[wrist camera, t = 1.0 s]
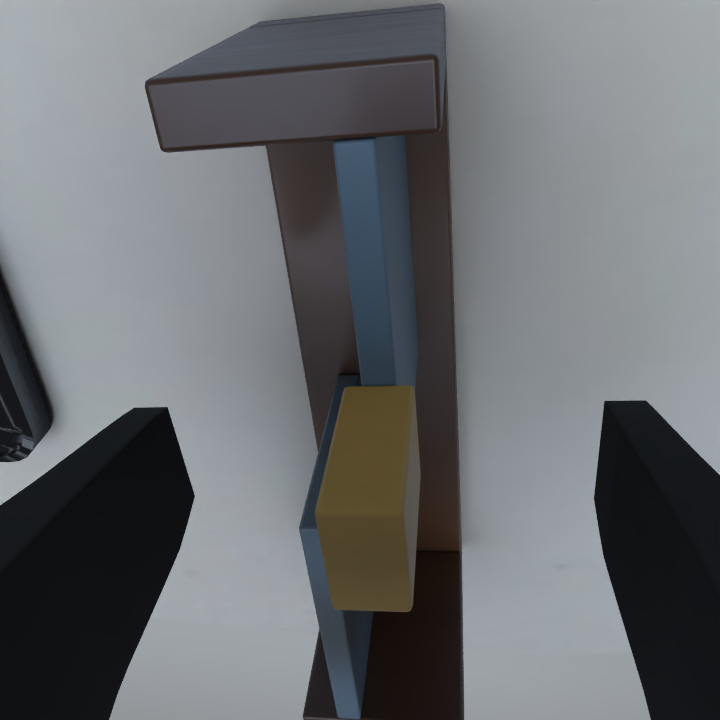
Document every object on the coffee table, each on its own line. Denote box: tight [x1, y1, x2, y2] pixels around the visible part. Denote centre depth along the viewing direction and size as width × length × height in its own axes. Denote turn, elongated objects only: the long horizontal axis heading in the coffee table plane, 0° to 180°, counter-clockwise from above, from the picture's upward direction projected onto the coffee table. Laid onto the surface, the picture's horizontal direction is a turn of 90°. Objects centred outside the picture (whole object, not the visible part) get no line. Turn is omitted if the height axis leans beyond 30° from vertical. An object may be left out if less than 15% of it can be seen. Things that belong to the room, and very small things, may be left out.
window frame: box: [145, 4, 464, 720], centre depth 16 cm, size 16×4×6 cm, turn 6°
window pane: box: [315, 135, 421, 612], centre depth 12 cm, size 7×1×8 cm, turn 6°
